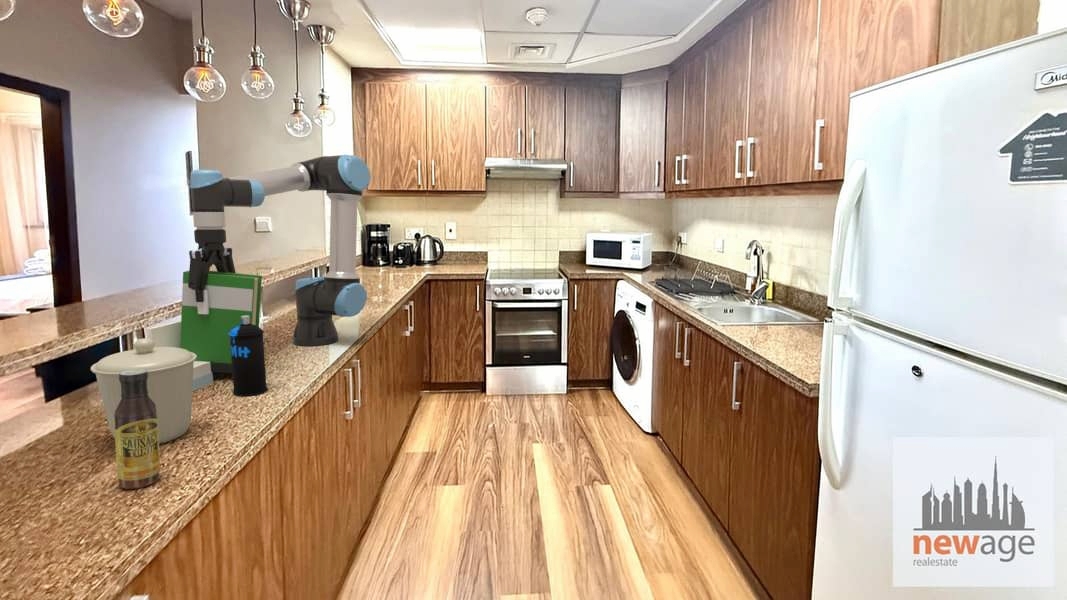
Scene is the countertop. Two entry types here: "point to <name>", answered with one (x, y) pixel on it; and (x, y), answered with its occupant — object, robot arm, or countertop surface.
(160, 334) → the shelf back board
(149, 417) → the sauce bottle
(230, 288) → the hardback book
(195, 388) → the book stack block
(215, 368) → the bookend
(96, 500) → the countertop surface
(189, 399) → the canister
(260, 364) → the aerosol can
